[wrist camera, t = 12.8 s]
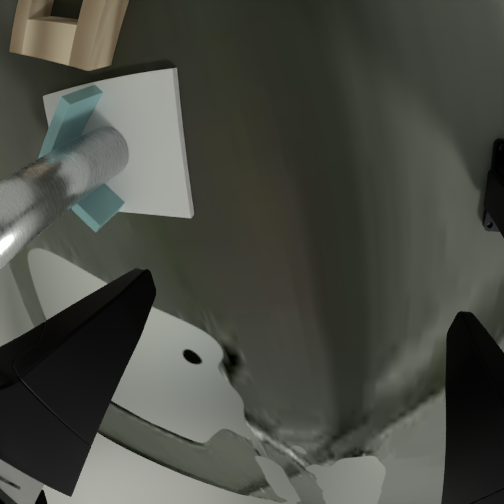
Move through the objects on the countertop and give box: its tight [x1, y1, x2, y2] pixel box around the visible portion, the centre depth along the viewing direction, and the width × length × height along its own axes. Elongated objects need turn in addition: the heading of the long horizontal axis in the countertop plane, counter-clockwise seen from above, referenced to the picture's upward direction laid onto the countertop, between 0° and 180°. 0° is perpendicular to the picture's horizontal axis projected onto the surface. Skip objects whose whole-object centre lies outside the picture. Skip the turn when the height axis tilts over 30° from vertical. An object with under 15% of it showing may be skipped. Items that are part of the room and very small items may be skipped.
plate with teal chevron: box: [38, 68, 194, 232], centre depth 21 cm, size 13×11×4 cm
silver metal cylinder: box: [0, 126, 129, 269], centre depth 16 cm, size 4×4×15 cm
